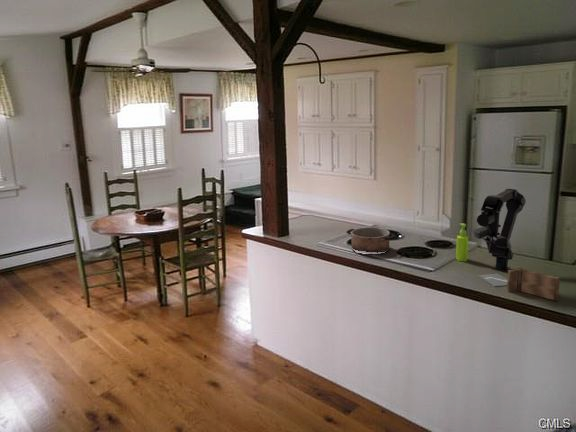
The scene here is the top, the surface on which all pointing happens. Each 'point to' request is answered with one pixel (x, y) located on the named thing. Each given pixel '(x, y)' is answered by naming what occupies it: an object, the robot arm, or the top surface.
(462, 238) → the soap dispenser
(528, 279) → the fence gate
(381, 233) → the cooking pot
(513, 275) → the fence post
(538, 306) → the top surface
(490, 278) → the card
